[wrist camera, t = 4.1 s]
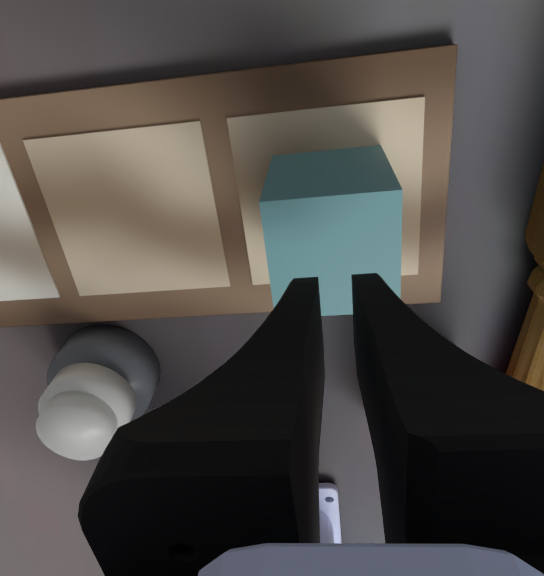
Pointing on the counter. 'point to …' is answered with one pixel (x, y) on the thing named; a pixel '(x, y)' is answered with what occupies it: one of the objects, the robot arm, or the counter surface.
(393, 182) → the teal rectangular block
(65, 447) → the dome
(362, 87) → the game board
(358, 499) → the counter surface
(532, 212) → the tap handle
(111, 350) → the dome base
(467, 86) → the counter surface
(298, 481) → the robot arm
